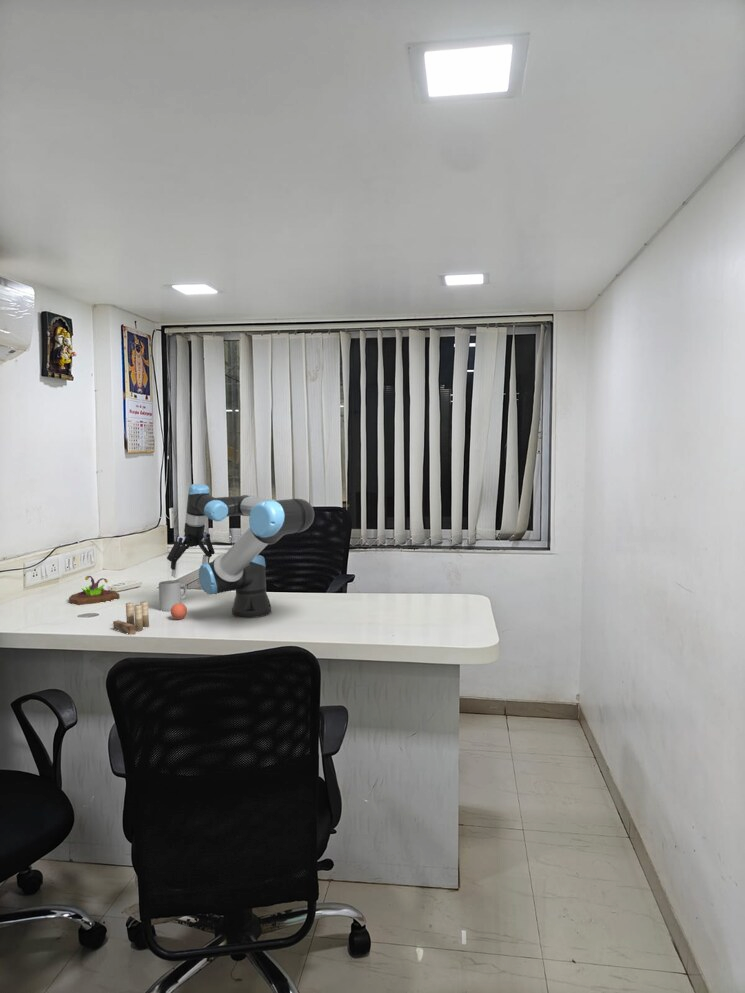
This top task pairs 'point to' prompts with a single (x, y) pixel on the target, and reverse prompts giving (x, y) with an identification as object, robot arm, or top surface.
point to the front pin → (145, 614)
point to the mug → (170, 594)
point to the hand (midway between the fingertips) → (189, 573)
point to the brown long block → (124, 627)
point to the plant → (93, 594)
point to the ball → (178, 611)
